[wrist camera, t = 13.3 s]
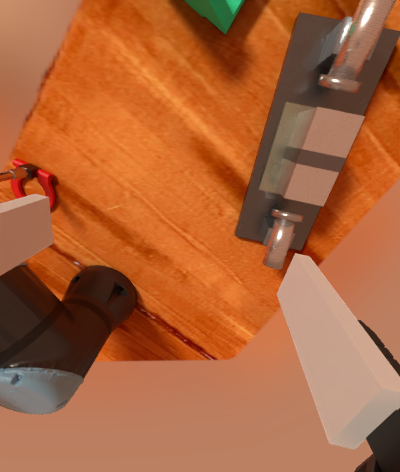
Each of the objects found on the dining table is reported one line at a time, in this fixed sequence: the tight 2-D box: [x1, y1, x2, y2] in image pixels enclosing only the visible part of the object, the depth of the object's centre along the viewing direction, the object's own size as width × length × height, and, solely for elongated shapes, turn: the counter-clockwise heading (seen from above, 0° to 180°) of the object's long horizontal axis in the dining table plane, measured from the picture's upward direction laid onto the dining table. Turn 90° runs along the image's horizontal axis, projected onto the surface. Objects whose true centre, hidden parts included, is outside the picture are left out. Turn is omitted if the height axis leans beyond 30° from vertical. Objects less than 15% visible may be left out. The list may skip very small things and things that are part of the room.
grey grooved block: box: [274, 107, 365, 207], centre depth 28 cm, size 11×5×7 cm, turn 169°
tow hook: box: [0, 159, 55, 209], centre depth 36 cm, size 8×13×9 cm
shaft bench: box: [235, 0, 400, 269], centre depth 29 cm, size 32×12×9 cm, turn 169°
